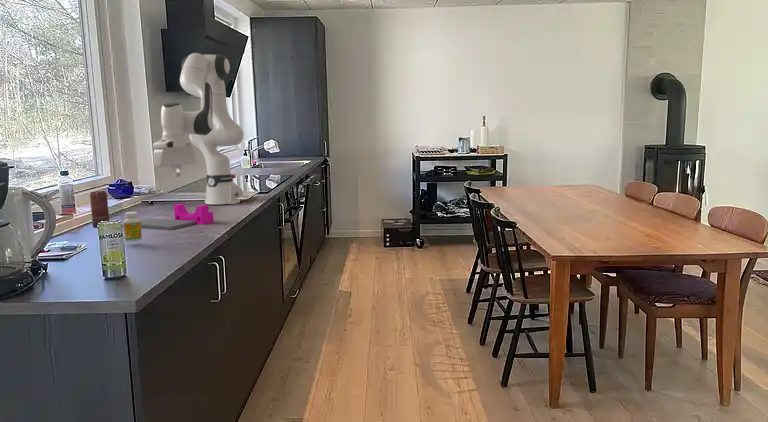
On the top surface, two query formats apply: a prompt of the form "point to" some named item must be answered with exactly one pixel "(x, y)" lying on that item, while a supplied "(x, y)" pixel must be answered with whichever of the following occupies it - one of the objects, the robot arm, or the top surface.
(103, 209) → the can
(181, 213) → the toy block
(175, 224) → the slate pad
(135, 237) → the supplement bottle
